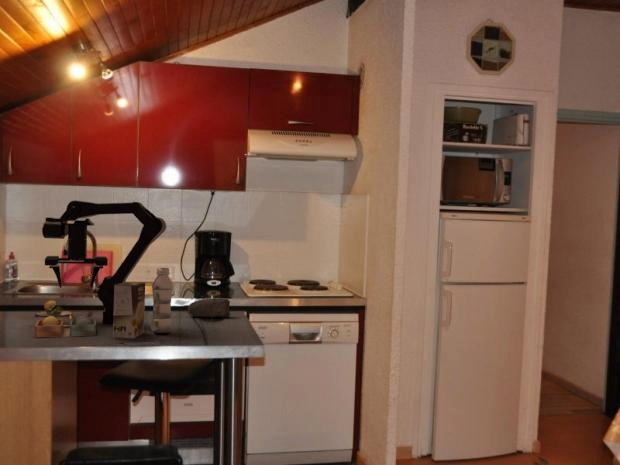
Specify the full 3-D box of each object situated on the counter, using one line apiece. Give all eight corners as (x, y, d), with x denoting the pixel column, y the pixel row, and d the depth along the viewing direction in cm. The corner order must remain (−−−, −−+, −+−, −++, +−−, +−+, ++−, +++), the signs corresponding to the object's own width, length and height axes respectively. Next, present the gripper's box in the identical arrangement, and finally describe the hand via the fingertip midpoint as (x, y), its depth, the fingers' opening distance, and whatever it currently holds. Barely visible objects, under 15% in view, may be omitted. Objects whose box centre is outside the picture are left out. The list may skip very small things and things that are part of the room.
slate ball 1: (90, 328, 178) (91, 314, 178) (90, 331, 174) (91, 316, 174) (75, 329, 176) (75, 314, 176) (74, 331, 172) (75, 316, 172)
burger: (69, 320, 197) (69, 298, 197) (31, 321, 194) (31, 298, 194) (74, 315, 209) (75, 294, 209) (39, 315, 206) (39, 294, 206)
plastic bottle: (153, 335, 175) (155, 269, 175) (148, 331, 181) (150, 267, 181) (174, 334, 178) (176, 269, 178) (168, 330, 184) (170, 267, 184)
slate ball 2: (90, 332, 173) (92, 317, 173) (90, 335, 169) (92, 320, 169) (74, 331, 171) (76, 316, 171) (74, 334, 167) (76, 319, 167)
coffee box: (134, 342, 166) (135, 285, 165) (111, 341, 166) (113, 284, 166) (144, 335, 175) (145, 282, 175) (123, 335, 175) (124, 281, 175)
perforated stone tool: (186, 318, 210) (187, 298, 209) (189, 315, 215) (189, 296, 215) (228, 319, 210) (229, 300, 210) (229, 316, 215) (230, 298, 215)
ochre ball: (58, 329, 175) (59, 314, 174) (57, 332, 170) (58, 317, 170) (42, 330, 173) (42, 315, 173) (41, 332, 169) (41, 317, 169)
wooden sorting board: (94, 326, 187) (95, 314, 187) (95, 338, 168) (96, 324, 168) (39, 328, 181) (40, 315, 181) (34, 340, 162) (34, 326, 162)
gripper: (107, 239, 200) (105, 284, 200) (47, 237, 193) (46, 285, 193) (108, 240, 189) (106, 288, 189) (45, 239, 183) (43, 288, 183)
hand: (76, 287), depth 189 cm, fingers open, 9 cm apart
